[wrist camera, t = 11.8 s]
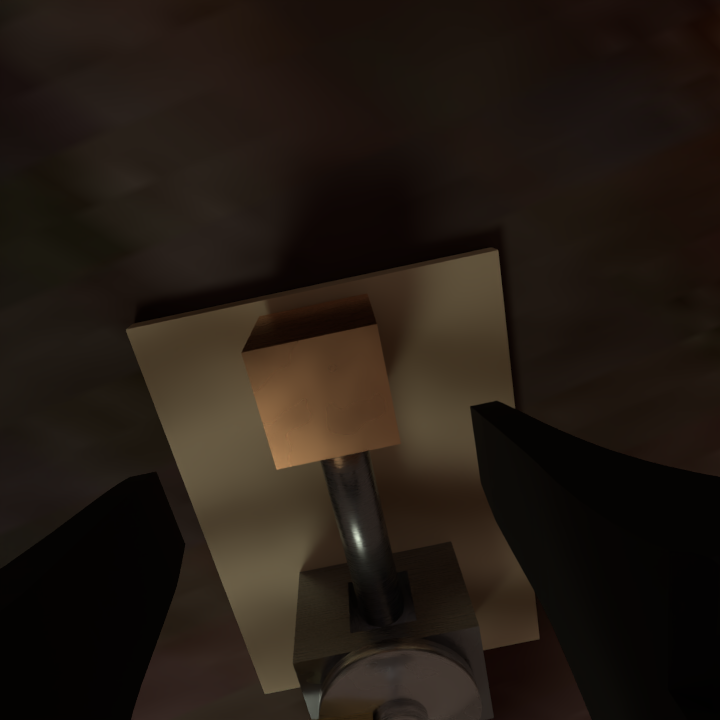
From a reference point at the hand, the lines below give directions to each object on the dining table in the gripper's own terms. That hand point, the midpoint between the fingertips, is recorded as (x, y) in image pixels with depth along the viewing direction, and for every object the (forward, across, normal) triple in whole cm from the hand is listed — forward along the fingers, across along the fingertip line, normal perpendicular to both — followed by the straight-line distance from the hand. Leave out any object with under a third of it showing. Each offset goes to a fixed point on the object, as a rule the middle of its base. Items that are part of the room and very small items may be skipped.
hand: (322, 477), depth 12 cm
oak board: (+9, 0, +7) cm, 12 cm away
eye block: (+10, 0, +12) cm, 16 cm away
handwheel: (+4, +1, +12) cm, 13 cm away
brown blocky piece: (+8, 0, +4) cm, 9 cm away
